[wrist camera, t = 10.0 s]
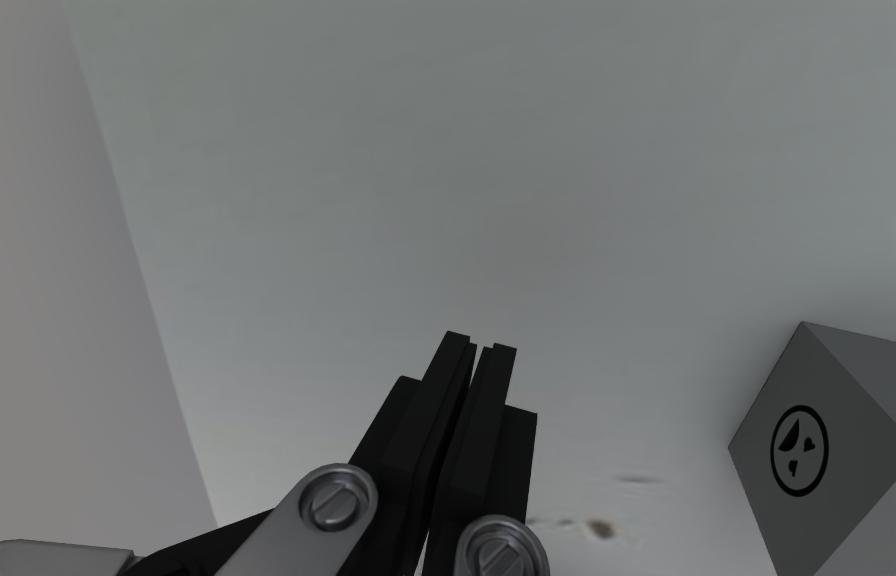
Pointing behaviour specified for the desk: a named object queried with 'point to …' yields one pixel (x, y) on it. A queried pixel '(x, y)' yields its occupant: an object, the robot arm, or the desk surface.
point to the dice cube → (825, 455)
